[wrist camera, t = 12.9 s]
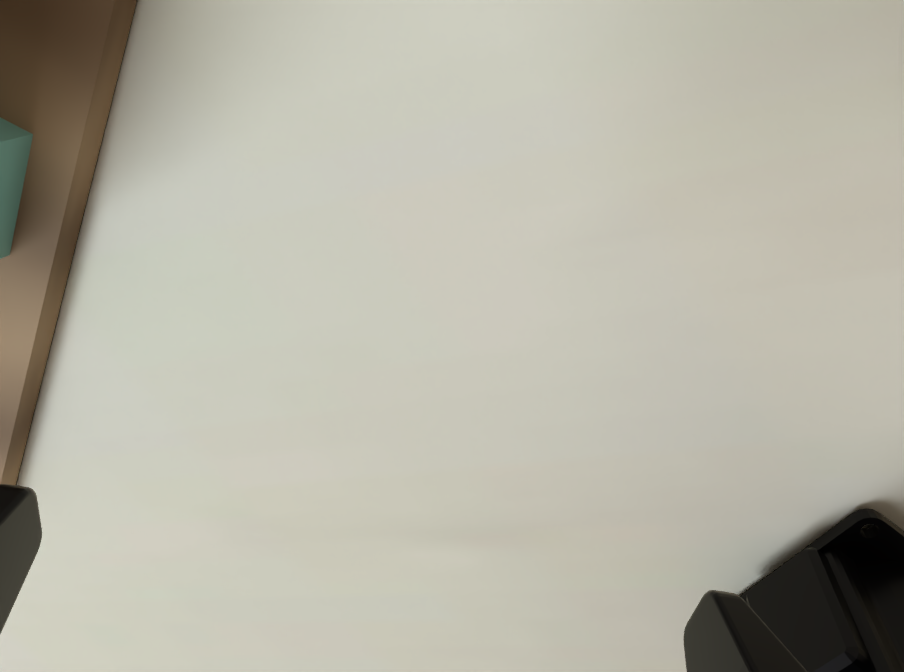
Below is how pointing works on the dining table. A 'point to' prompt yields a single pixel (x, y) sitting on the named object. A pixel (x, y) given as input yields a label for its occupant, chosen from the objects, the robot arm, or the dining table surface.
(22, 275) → the rail board
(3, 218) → the teal rectangular block
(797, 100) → the dining table surface
